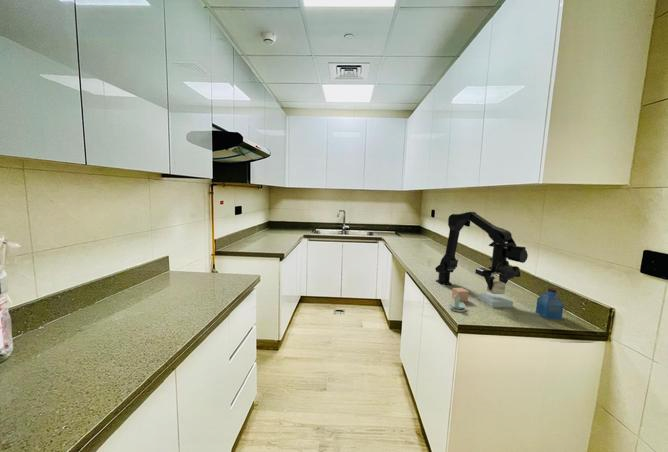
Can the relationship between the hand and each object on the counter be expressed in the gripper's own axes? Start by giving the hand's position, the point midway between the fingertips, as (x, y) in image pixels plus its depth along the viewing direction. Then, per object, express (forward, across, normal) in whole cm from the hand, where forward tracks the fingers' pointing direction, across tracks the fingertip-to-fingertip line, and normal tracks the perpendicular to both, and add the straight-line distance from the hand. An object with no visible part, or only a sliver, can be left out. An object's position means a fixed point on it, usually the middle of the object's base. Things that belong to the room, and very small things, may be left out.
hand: (495, 290), depth 124 cm
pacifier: (+6, -22, -7) cm, 24 cm away
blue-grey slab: (+6, 0, 0) cm, 7 cm away
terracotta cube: (+6, -15, +4) cm, 17 cm away
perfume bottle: (+6, +14, -14) cm, 21 cm away
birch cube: (+1, 0, 0) cm, 1 cm away
